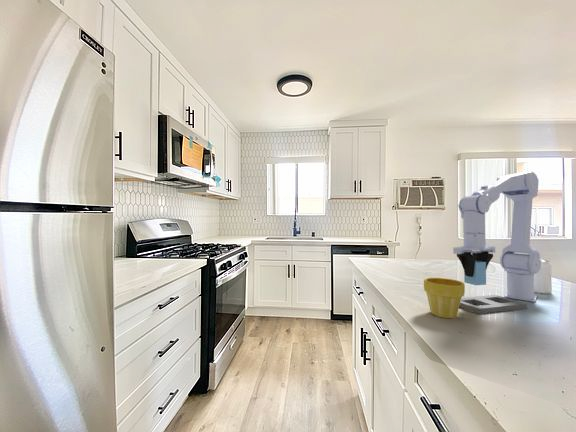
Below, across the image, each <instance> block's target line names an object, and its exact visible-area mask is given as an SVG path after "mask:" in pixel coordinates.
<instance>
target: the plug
mask: <svg viewBox="0 0 576 432" xmlns="http://www.w3.org/2000/svg"><path fill="white" fill-rule="evenodd" d="M463 275H464V276H463V277H464V281H463V283H464V284H465V283H466V284H470V285H473V286H485V285H487V269H486V262H482V261H475V264H474V274H473V277H469V276H466V275H465V272H464V271H463Z"/></svg>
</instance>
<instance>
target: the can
mask: <svg viewBox="0 0 576 432" xmlns="http://www.w3.org/2000/svg"><path fill="white" fill-rule="evenodd" d="M540 260H541V268H540V270H539V271H538V272H537V273H536V274H534V294H535V293H536V294H543V295H545V294H546V295H549V294H552V292H553V291H552V290H553V287H552V286H553V285H552V280H553V279H552V264H551V263H550V261H549V259H548V260H547V259H540Z"/></svg>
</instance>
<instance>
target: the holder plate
mask: <svg viewBox="0 0 576 432" xmlns="http://www.w3.org/2000/svg"><path fill="white" fill-rule="evenodd" d="M495 301H496V302H495ZM497 301H498V302H497ZM474 304H475V305H474ZM480 305H481V306H480ZM461 307H462V309H464V308H465V309H464V310H466V309H467V310H466V311H469V310H470V311H469V312H472V313H474V312H475V313H474V314H477V315H481V313H483V314H490V313H489V312H492V313H499V312H498V311H500V312H508V311H509V312H510V311H515V310H524V309H525V310H526V309H528V303H526V302H522V301H518V300H517V299H513V298H507V297H504V296H502V295H501V296H500V295H498V294H488V295H487V294H486V295H477V296H467V297H461V301H460V305H459V308H461Z"/></svg>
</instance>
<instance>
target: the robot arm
mask: <svg viewBox="0 0 576 432" xmlns="http://www.w3.org/2000/svg"><path fill="white" fill-rule="evenodd" d="M538 192H539V178H538V175H537V174H536V173H535V172H534V171H526V172H519V173H512V174H506V175H505V174H504V175H503V174H502V175H500V176H499V177H497V178H496V181H495V182H494V183H493V184H492V185H482V186H480V188H479V189H478V190H477V191H473V192H472V194H471V195H467V196H463V197H462V198H461V199H460V200H459V203H458V206H457V207H458V211H459V212H460V215H461V216H460V217H461V219H462V222H463V223H462V224H463V225H462V227H463V229H462V230H463V246H455V247H453V248H452V250H453V251H452V252H453V254H456V257H457V258H458V259H459V262H460V263H461V265H462V268H463V273H464V272H465V275H466V276H469V277H473V274H474V264H475V261H482V262H486V270H487V269H488V266H489V264H490V262H491V260H492V259H493V258H494V254H495V253H496V246H493V245H486V241H487V240H486V213H488V212H489V210H490V207H491V206H492V204H493V203H495V202H496V201H498V200H499V198H500V196H501V194H502V195H504V197H505V198H507V199H510V200H512V201H513V209H512V210H513V211H512V223H511V236H510V237H511V238H510V244H509V245H507V246H505V247H503V248H502V252H501V255H500V257H499V263H500V266H501V268H502V269H504V272H506V289H507V291H506V293H505V295H504V296H503V297H505V298H508V299H512V300H520V301H525V302H526V301H527V302H530V303H531V302H532V303H533V302H534V303H536V300H537V296H538V295H537V294H535V292H534V274H536V273H537V272H538V271H539V270H540V268H541V260H542V259H541V256H540V255H541V254H540V253H541V252H540V251H539V250H538V249H536V248H534V247H533V246H531V245H530V243H531V228H532V214H533V213H532V212H533V199H534V198H535V197H537V196H538Z"/></svg>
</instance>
